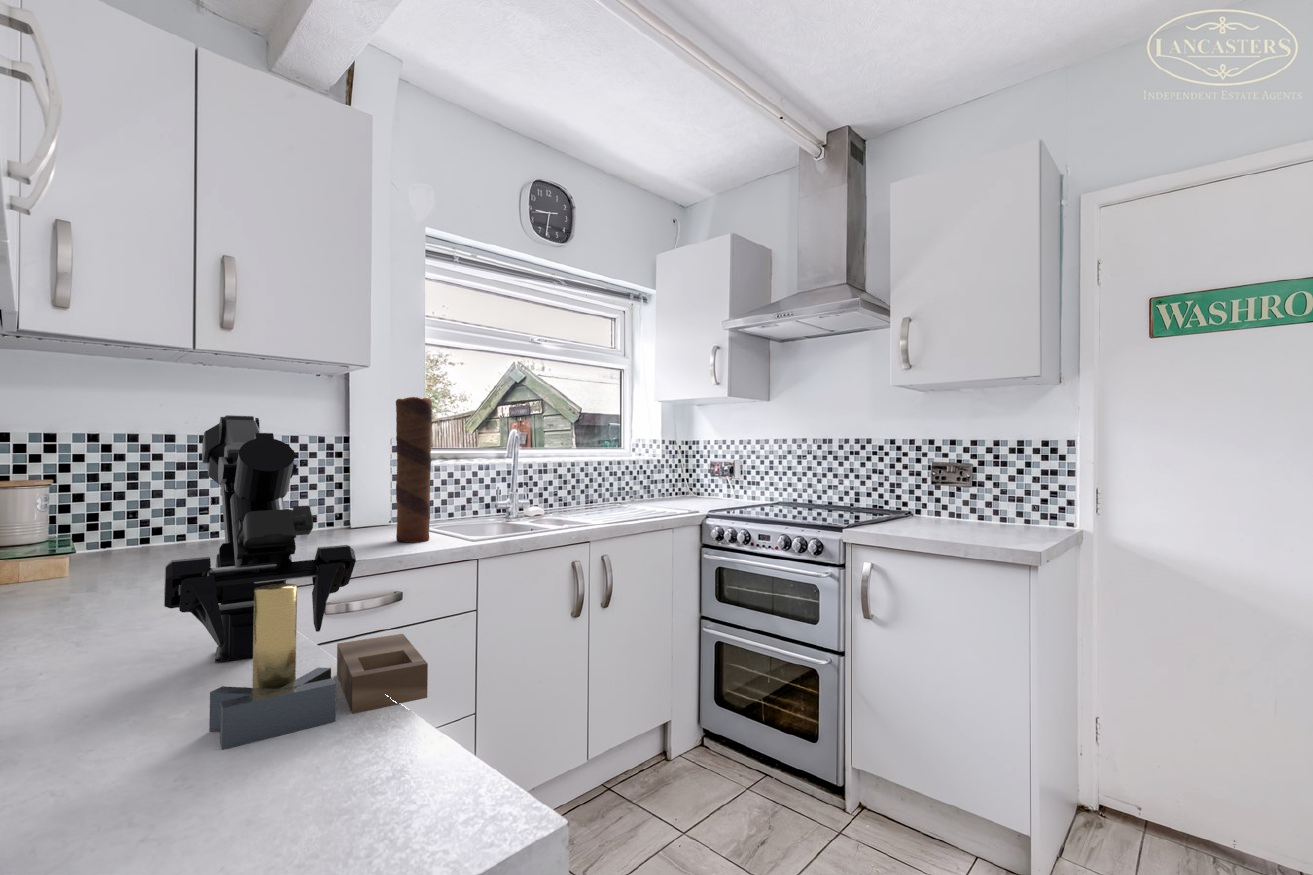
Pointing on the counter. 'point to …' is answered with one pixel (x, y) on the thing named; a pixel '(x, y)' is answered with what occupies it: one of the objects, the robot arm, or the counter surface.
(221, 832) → the counter surface
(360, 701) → the wooden socket block
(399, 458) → the wafer roll
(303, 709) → the steel V-block
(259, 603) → the brass axle
